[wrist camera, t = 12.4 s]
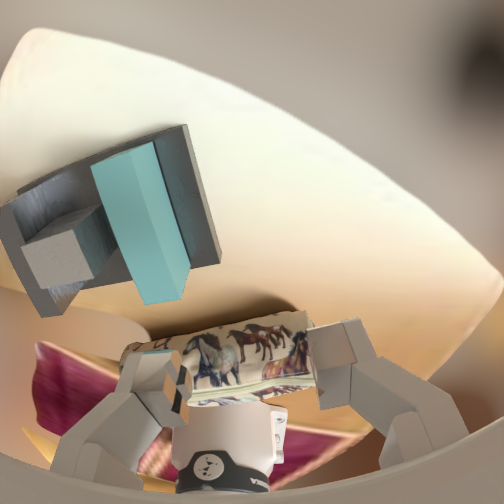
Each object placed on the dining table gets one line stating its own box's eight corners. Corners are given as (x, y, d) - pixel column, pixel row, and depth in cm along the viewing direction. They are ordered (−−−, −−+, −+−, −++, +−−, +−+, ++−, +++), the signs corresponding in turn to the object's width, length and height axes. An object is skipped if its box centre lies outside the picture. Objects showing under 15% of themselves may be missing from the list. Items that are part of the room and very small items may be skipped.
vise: (221, 252, 28) (215, 297, 22) (69, 283, 30) (40, 322, 24) (187, 124, 23) (165, 132, 17) (28, 184, 24) (-15, 208, 18)
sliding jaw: (190, 265, 26) (180, 299, 22) (159, 271, 27) (145, 305, 22) (152, 141, 21) (129, 152, 17) (118, 152, 22) (90, 166, 17)
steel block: (121, 242, 26) (94, 278, 20) (71, 255, 26) (41, 289, 21) (105, 201, 24) (72, 229, 18) (55, 218, 24) (20, 247, 19)
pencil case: (158, 373, 37) (143, 435, 28) (126, 326, 33) (100, 391, 24) (326, 342, 34) (345, 409, 26) (317, 285, 31) (340, 354, 22)
